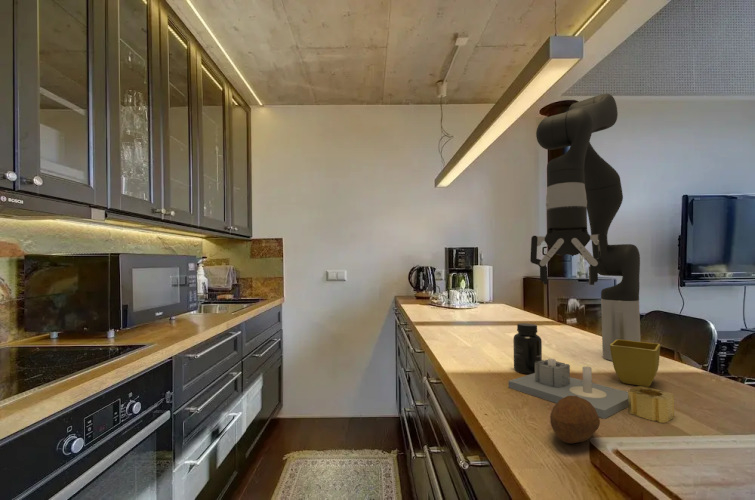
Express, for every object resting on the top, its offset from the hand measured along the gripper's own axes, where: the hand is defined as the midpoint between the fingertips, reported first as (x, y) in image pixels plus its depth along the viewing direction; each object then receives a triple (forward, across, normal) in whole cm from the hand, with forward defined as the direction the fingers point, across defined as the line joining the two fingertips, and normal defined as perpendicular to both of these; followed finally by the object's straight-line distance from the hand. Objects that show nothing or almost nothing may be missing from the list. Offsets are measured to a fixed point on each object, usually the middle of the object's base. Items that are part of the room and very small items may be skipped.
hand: (568, 284), depth 75 cm
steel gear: (+22, +3, -5) cm, 23 cm away
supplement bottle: (+24, +8, -18) cm, 31 cm away
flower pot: (+24, -15, -17) cm, 33 cm away
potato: (+24, +1, +19) cm, 31 cm away
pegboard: (+24, 0, -3) cm, 24 cm away
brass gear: (+24, -13, +3) cm, 27 cm away
